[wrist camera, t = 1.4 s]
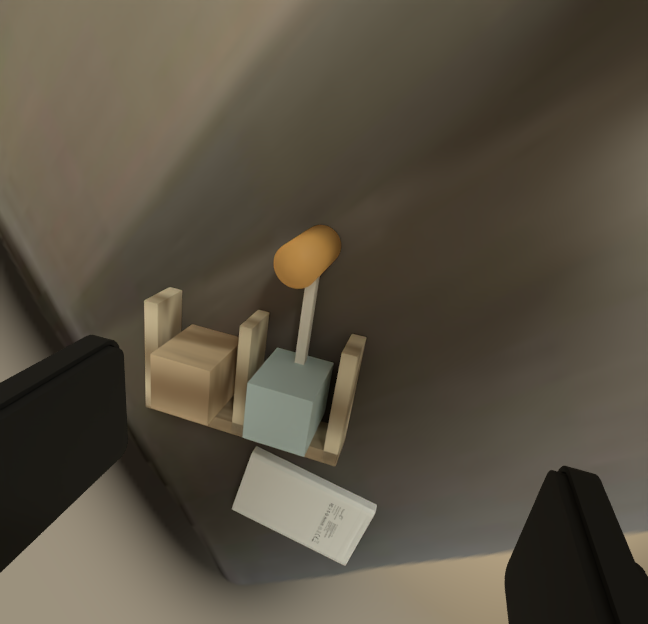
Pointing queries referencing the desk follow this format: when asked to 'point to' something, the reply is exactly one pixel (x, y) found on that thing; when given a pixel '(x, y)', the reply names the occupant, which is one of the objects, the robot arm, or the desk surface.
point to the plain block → (194, 374)
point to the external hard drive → (302, 506)
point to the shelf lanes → (328, 437)
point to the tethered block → (294, 355)
